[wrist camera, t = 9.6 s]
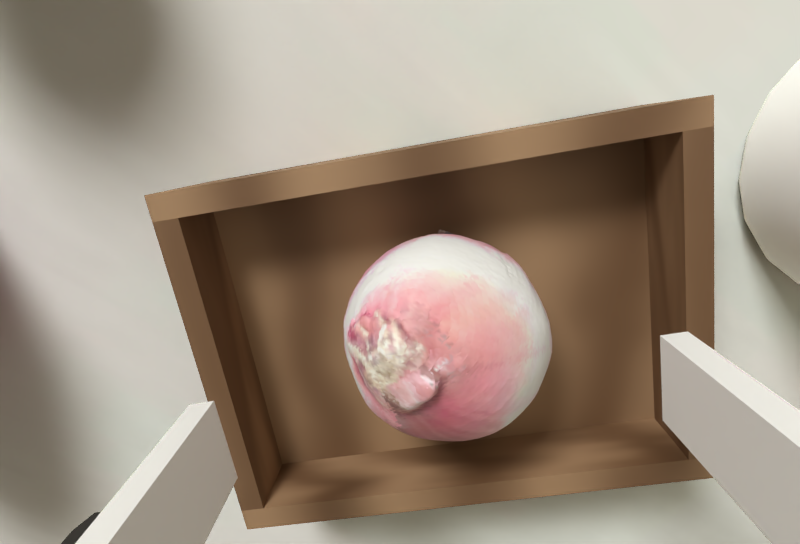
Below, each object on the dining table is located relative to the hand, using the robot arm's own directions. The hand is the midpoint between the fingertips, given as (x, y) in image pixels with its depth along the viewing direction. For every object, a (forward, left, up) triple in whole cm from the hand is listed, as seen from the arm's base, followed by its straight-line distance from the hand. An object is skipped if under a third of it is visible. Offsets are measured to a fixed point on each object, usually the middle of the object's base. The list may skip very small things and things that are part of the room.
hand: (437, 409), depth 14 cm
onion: (0, 0, -8) cm, 8 cm away
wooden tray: (0, 0, -10) cm, 10 cm away
